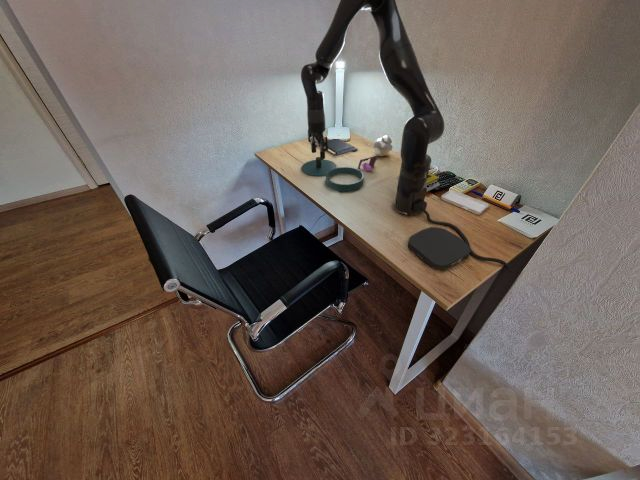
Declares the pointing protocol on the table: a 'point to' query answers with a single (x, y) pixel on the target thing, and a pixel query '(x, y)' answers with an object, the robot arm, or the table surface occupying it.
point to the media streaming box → (438, 247)
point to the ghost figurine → (382, 146)
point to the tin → (345, 187)
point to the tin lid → (318, 167)
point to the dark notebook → (339, 147)
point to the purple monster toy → (366, 165)
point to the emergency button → (430, 180)
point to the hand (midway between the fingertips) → (318, 155)
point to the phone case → (465, 201)
